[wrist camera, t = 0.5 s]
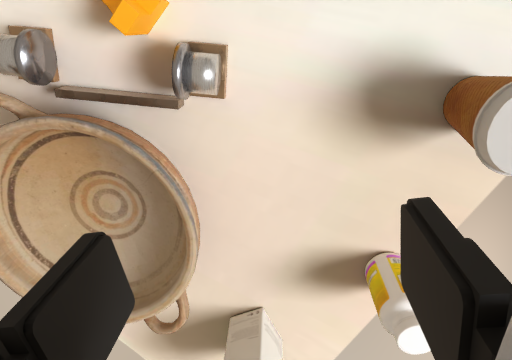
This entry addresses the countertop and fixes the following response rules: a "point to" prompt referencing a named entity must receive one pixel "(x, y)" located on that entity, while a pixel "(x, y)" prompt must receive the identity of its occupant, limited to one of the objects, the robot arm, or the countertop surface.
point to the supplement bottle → (394, 303)
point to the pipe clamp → (135, 14)
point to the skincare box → (253, 337)
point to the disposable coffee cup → (484, 118)
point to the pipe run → (183, 78)
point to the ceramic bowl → (95, 206)
